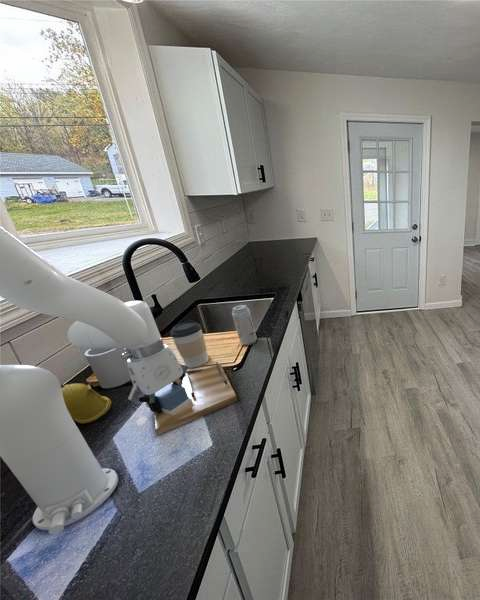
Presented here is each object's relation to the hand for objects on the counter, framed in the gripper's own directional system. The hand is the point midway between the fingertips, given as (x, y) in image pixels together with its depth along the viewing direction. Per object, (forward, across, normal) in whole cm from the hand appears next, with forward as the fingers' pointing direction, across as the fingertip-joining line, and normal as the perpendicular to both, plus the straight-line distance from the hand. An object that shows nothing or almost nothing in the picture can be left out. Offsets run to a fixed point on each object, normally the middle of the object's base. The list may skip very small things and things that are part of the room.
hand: (169, 403), depth 87 cm
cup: (+3, +5, +33) cm, 34 cm away
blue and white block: (0, 0, 0) cm, 0 cm away
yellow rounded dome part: (+3, -10, +18) cm, 21 cm away
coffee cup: (+3, +20, +16) cm, 26 cm away
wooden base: (+2, +6, -1) cm, 7 cm away
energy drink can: (+3, +37, +9) cm, 38 cm away
